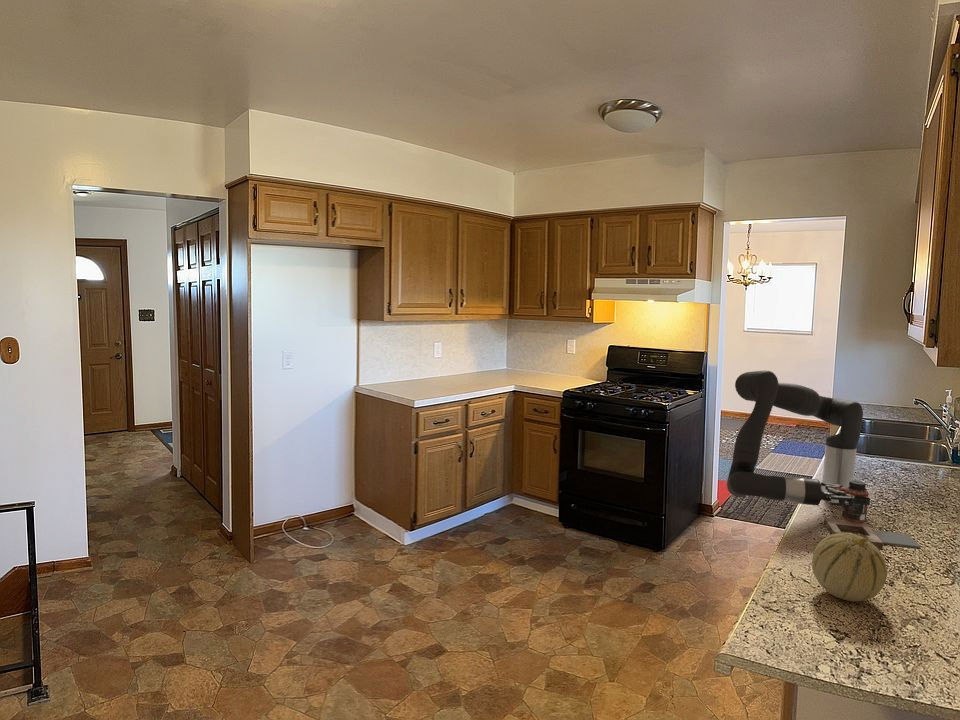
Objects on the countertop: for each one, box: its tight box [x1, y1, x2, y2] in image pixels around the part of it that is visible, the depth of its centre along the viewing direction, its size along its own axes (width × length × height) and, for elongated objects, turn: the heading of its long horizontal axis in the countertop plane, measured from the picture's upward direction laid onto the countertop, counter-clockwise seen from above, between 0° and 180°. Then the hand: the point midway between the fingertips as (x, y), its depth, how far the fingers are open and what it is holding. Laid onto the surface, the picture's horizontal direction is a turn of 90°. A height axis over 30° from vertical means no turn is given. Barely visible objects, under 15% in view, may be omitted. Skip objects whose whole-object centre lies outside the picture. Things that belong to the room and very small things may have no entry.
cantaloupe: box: [811, 532, 888, 603], centre depth 142 cm, size 15×15×15 cm
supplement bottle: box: [841, 479, 870, 523], centre depth 179 cm, size 6×6×11 cm
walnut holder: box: [823, 517, 884, 549], centre depth 180 cm, size 16×11×2 cm
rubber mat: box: [873, 530, 921, 549], centre depth 177 cm, size 9×9×1 cm
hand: (865, 497), depth 179 cm, fingers closed on supplement bottle, 6 cm apart
